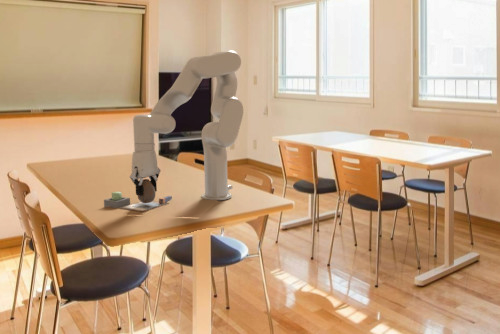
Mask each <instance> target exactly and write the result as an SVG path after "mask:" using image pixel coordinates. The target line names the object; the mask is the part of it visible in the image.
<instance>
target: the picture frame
mask: <svg viewBox="0 0 500 334" xmlns="http://www.w3.org/2000/svg"><path fill="white" fill-rule="evenodd" d="M166 205H169V202H165V203H159V201H158V200H157V201H156V200H153V201H152V202H150V203H142V202H141V201H140V200H139V201H138V202H135V203H130V204H129V205H126V206H123V207H119V208H118V209H120V210H126V211H131V212H137V213H145V212H148V211H150V210H153V209H157V208H160V207H163V206H166Z"/></svg>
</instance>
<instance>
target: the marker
mask: <svg viewBox="0 0 500 334" xmlns="http://www.w3.org/2000/svg"><path fill="white" fill-rule="evenodd" d="M172 199H173V196H172V195H167V196H164V197H160V198H159V199H158V202H159V203H169V201H171V200H172Z"/></svg>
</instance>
